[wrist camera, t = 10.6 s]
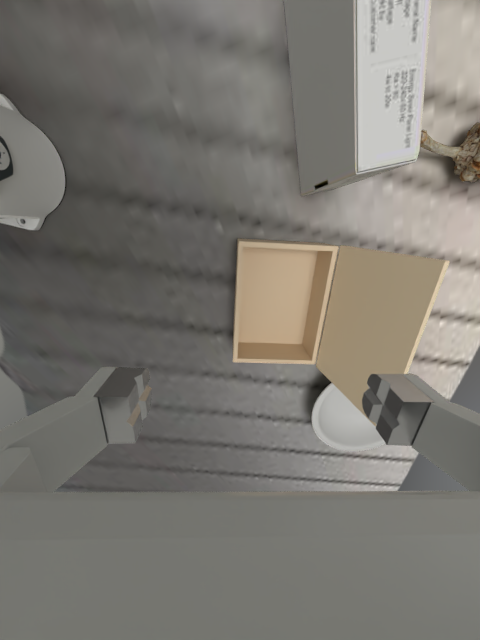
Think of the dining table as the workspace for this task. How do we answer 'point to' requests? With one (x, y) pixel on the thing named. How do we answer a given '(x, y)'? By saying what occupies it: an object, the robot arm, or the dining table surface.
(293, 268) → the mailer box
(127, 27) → the dining table surface
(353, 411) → the white bowl
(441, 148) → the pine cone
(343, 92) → the packaging
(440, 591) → the robot arm
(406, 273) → the lid
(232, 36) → the dining table surface
